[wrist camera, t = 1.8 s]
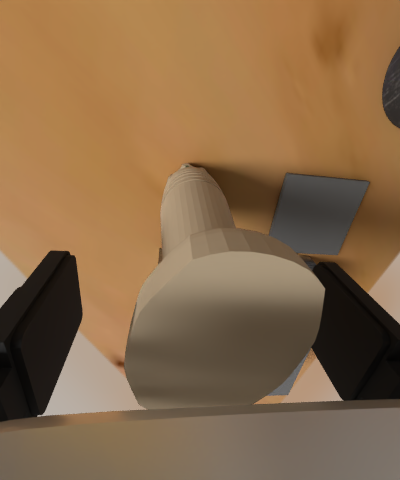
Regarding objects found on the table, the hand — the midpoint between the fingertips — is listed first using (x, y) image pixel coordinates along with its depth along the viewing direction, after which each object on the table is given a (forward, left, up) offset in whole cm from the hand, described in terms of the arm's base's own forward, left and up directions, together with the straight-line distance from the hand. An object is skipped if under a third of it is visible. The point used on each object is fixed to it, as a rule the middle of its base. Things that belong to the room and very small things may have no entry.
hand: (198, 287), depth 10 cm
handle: (-1, 0, -12) cm, 12 cm away
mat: (+1, +11, -12) cm, 16 cm away
